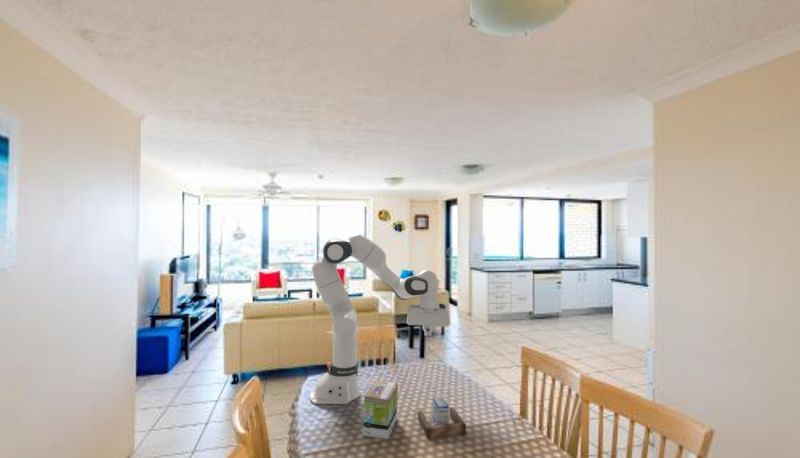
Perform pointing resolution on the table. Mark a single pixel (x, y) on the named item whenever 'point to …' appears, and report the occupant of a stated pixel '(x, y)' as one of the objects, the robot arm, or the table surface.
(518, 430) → the table surface
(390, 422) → the tea box
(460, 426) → the display bay
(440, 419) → the medicine box
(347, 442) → the table surface
